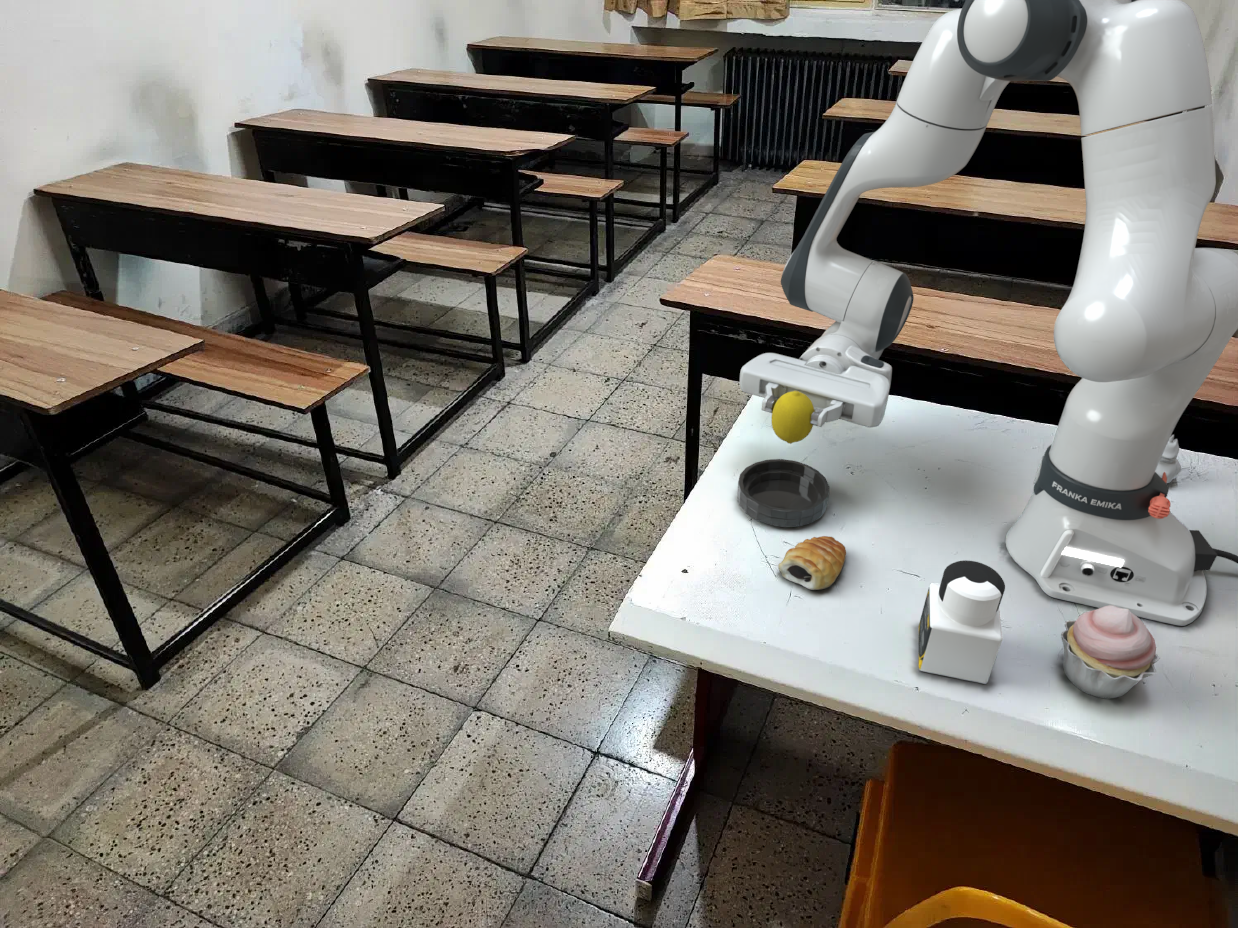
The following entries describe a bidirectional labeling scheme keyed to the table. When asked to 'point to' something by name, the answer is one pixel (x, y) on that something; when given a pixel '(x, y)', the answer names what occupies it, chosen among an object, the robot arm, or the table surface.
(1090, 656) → the cupcake
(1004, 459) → the table surface
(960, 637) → the medicine bottle
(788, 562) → the pastry
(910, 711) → the table surface
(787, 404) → the lemon
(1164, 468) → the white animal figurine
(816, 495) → the shallow dish
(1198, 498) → the table surface
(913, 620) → the table surface
